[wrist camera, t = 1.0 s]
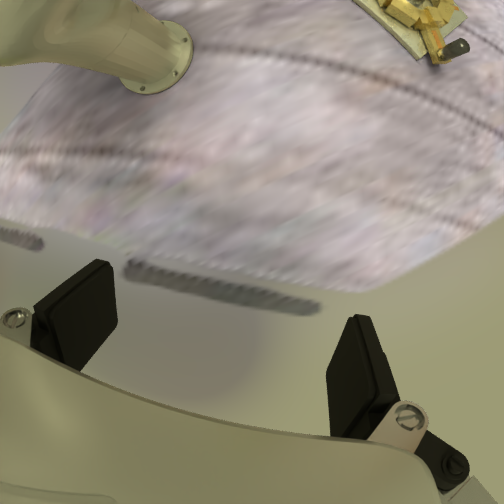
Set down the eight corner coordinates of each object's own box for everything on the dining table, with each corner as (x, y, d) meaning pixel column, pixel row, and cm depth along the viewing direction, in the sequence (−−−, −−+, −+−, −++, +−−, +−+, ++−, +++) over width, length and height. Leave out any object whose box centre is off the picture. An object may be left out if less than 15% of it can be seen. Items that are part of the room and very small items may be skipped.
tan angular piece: (358, -33, 23) (369, -59, 16) (424, -29, 21) (443, -50, 13) (404, 65, 29) (428, 51, 22) (468, 64, 26) (497, 55, 19)
